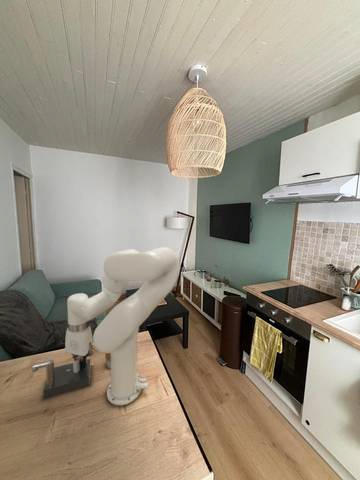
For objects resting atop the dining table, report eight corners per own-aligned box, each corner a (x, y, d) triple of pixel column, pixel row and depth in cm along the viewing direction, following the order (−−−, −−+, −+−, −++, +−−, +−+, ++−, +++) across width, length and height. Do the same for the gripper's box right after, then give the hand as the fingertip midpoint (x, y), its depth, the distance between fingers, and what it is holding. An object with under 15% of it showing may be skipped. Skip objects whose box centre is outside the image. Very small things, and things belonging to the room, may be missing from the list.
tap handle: (84, 361, 83) (83, 350, 83) (87, 362, 83) (87, 351, 83) (73, 372, 78) (72, 360, 77) (76, 373, 77) (76, 361, 77)
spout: (55, 380, 74) (54, 357, 73) (54, 385, 72) (52, 362, 70) (34, 386, 71) (32, 362, 70) (32, 391, 69) (30, 367, 68)
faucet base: (94, 365, 86) (94, 357, 86) (94, 384, 76) (93, 376, 76) (50, 376, 80) (50, 367, 80) (43, 398, 70) (43, 389, 70)
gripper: (55, 326, 77) (57, 369, 79) (89, 333, 73) (90, 378, 75) (70, 317, 84) (72, 356, 86) (101, 322, 80) (102, 364, 82)
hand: (80, 366), depth 80 cm, fingers closed on tap handle
